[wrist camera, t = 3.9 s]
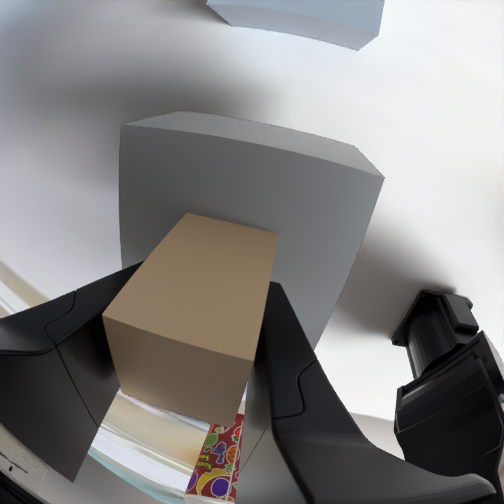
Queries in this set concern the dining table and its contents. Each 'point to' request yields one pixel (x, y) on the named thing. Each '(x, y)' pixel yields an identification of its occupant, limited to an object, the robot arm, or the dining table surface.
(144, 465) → the dining table surface
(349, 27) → the blue-grey and tan block
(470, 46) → the dining table surface
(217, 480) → the smoothie
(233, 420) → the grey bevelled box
